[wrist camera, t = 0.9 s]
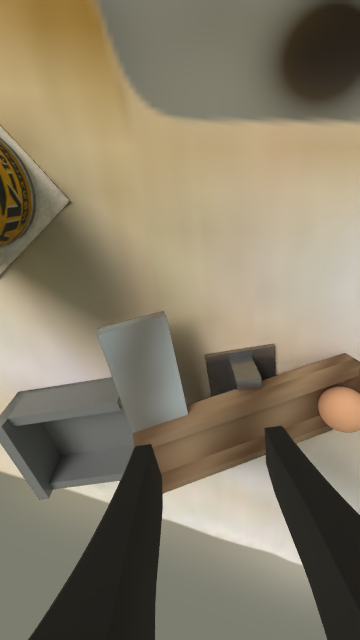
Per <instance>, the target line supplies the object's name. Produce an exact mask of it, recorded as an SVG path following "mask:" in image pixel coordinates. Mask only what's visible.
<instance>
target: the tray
mask: <svg viewBox="0 0 360 640" xmlns="http://www.w3.org/2000/svg"><path fill="white" fill-rule="evenodd" d="M0 443H1V445H2V446H3V448H4V449H5V451H6V452H7V454H8V455H9V456H10V458H11V459H12V461H13V462H14V464H15V465H16V467H17V468H18V469H19V471H20V472H21V474H22V475H23V477H24V478H25V479H26V481H27V483H28V484H29V485H30V487H31V488H32V490H33V491H34V493H35V494H36V496H37V497H38V498H39V500H41V499H48V498H49V497H50V495H51V492H52V490H53V489H60V488H67V487H75V486H82V485H90V484H97V483H105V482H112V481H120V480H121V478H122V476H123V474H124V471H125V469H126V467H127V464H128V462H129V459H130V457H131V454H132V452H133V449H134V448H135V447H134V440H133V433H132V430H131V427H130V424H129V422H128V419H127V416H126V413H125V410H124V408H123V405H122V402H121V399H120V397H119V394H118V391H117V388H116V386H115V383H114V380H113V377H111V378H104V379H98V380H92V381H85V382H79V383H73V384H66V385H60V386H53V387H47V388H41V389H34V390H28V391H22V392H18V393H17V394H16V396H15V397H14V398H13V399H12V401H11V402H10V403H9V405H8V406H7V407H6V408H5V410H4V411H3V412H2V414H1V415H0Z"/></svg>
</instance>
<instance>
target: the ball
mask: <svg viewBox="0 0 360 640" xmlns="http://www.w3.org/2000/svg"><path fill="white" fill-rule="evenodd" d="M318 410H319V413H320V416H321V418H322V419H323V420H324V422H325V423H326V424H327V425H329V426H330V427H331V428H333V429H335V430H337V431H341V432H355V431H358V430H360V394H359V393H358V392H357V391H355V390H353V389H351V388H348V387H344V386H335V387H331V388H329V389H327V390H325V391H324V392H323V393H322V394H321V396H320V398H319V401H318Z"/></svg>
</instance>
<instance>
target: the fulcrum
mask: <svg viewBox="0 0 360 640" xmlns="http://www.w3.org/2000/svg"><path fill="white" fill-rule="evenodd" d="M205 360H206V366H207V372H208V378H209V385H210V391H211V397H213V396H217V395H220V394H223V393H226V392H229V391H232V390H235V389H237V391H239V390H246V389H253V388H259V387H262V380H265V379H268V378H271V377H274V376H275V346H274V344H269V345H263V346H256V347H250V348H244V349H238V350H231V351H225V352H219V353H213V354H206V355H205Z"/></svg>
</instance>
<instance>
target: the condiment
mask: <svg viewBox="0 0 360 640" xmlns="http://www.w3.org/2000/svg"><path fill="white" fill-rule="evenodd" d="M68 202H69V200H68V198H67V197H66V196H65V195H64V194H63V193H62V192H61V191H60V190H59V189H58V188H57V186H56V185H55V184H54V183H53V182H52V181H51V180H50V179H49V178H48V177H47V176H46V175H45V173H44V172H43V171H42V170H41V169H40V168H39V167H38V166H37V165H36V163H35V162H34V161H33V160H32V159H31V158H30V157H29V156H28V155H27V154H26V153H25V152H24V150H23V149H22V148H21V147H20V146H19V145H18V144H17V143H16V142H15V141H14V140H13V139H12V138H11V137H10V136H9V135H8V133H7V132H6V131H5V130H4V129H3V128H2V127H1V126H0V274H1V273H2V272H3V271H4V270H5V269H6V268H7V267H8V266H9V265H10V264H11V263H12V262H13V261H14V260H15V259H16V257H17V256H18V255H19V254H20V253H21V252H22V251H23V250H24V249H25V248H26V247H27V246H28V245H29V244H30V243H31V242H32V241H33V240H34V239H35V238H36V236H37V235H38V234H39V233H40V232H41V231H42V230H43V229H44V228H45V227H46V226H47V225H48V224H49V223H50V222H51V221H52V219H53V218H54V217H55V216H56V215H57V214H58V213H59V212H60V211H61V210H62V209H63V208H64V207H65V206H66V204H67V203H68Z"/></svg>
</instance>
